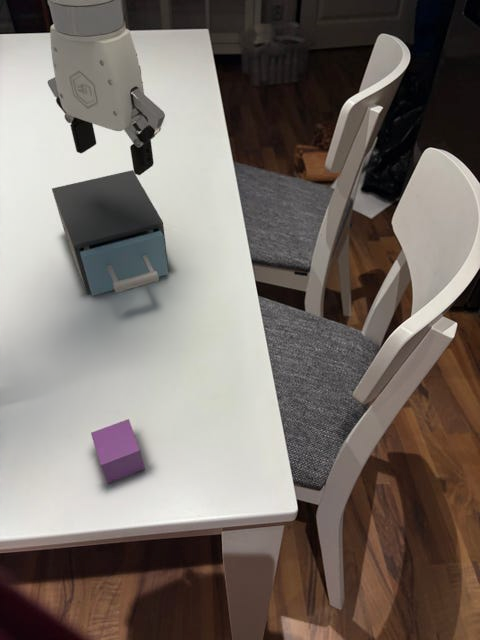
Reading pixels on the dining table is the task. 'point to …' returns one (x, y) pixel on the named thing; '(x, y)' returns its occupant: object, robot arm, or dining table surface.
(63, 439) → the dining table surface
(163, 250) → the drawer
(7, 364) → the dining table surface
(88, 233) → the grey drawer cabinet
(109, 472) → the cube
